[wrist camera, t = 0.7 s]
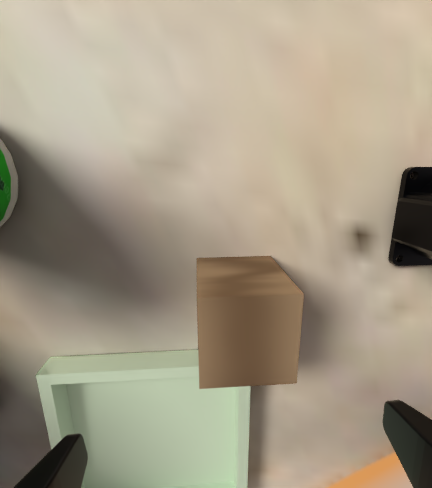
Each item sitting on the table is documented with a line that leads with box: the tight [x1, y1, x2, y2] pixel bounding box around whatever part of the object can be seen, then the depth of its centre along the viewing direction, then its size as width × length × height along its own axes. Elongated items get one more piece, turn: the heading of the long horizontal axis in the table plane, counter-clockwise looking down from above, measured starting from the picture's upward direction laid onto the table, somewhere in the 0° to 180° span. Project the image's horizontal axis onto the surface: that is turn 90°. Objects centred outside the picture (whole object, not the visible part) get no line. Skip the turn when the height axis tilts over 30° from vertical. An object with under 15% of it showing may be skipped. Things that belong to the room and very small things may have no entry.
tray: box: [36, 350, 250, 488], centre depth 21 cm, size 14×14×2 cm
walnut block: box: [197, 256, 304, 389], centre depth 16 cm, size 5×5×6 cm
